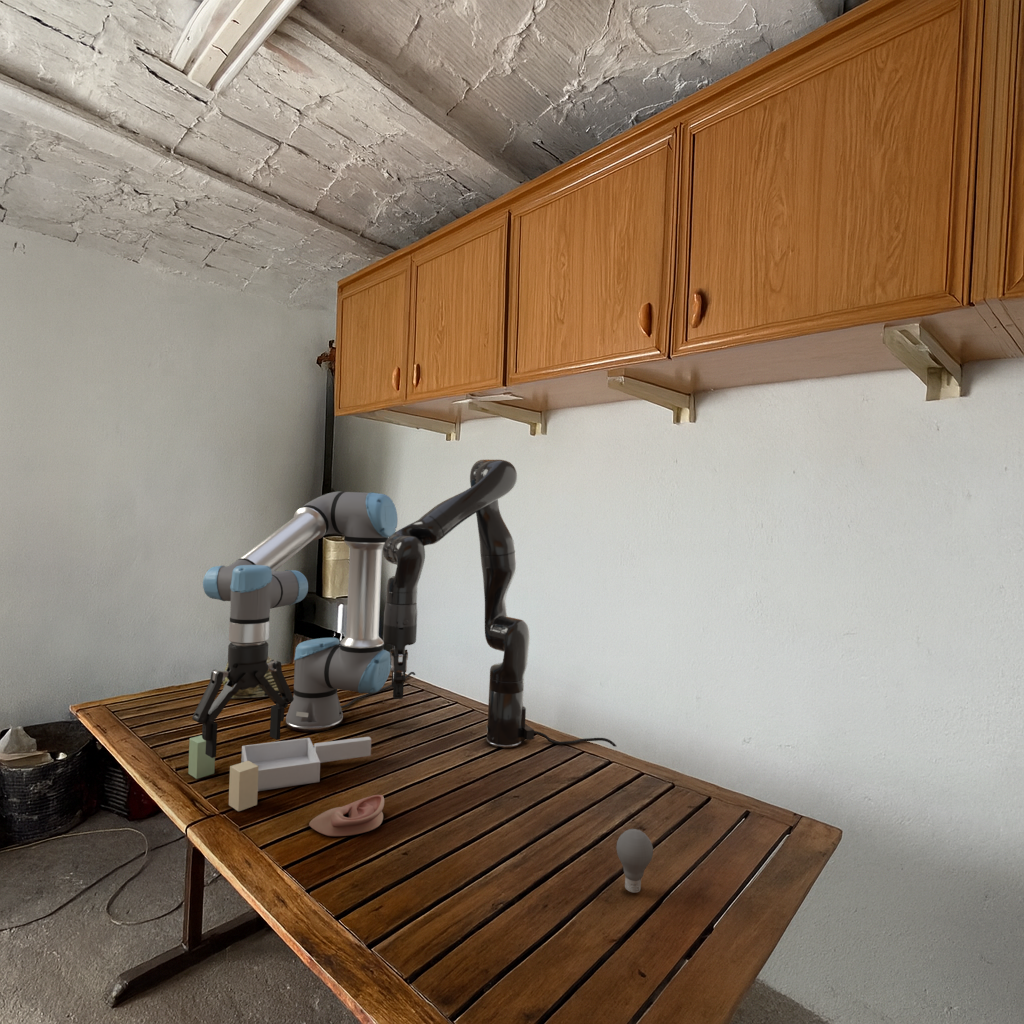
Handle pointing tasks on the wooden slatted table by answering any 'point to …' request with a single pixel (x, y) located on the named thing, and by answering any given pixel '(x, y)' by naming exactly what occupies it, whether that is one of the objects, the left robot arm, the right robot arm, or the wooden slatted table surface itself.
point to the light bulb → (634, 857)
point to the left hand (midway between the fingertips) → (244, 746)
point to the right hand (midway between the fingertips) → (397, 692)
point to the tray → (299, 759)
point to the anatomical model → (351, 817)
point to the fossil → (257, 690)
